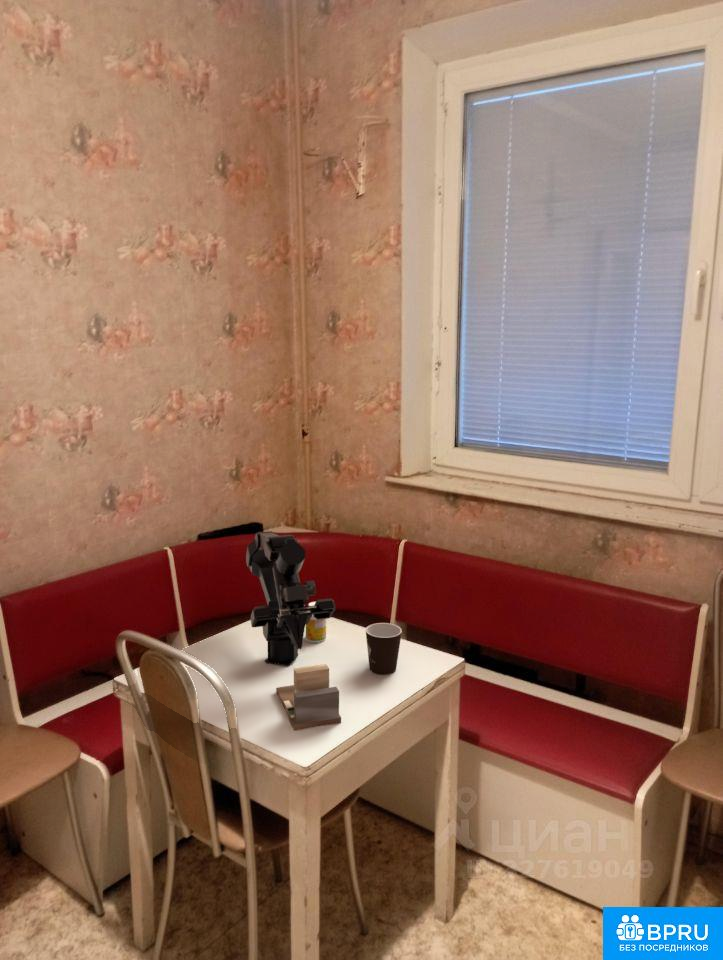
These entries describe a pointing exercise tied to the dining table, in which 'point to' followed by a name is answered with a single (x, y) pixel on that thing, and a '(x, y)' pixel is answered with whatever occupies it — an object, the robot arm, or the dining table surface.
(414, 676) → the dining table surface
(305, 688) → the pad
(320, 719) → the gauge track
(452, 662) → the dining table surface
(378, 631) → the coffee mug
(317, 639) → the supplement bottle
